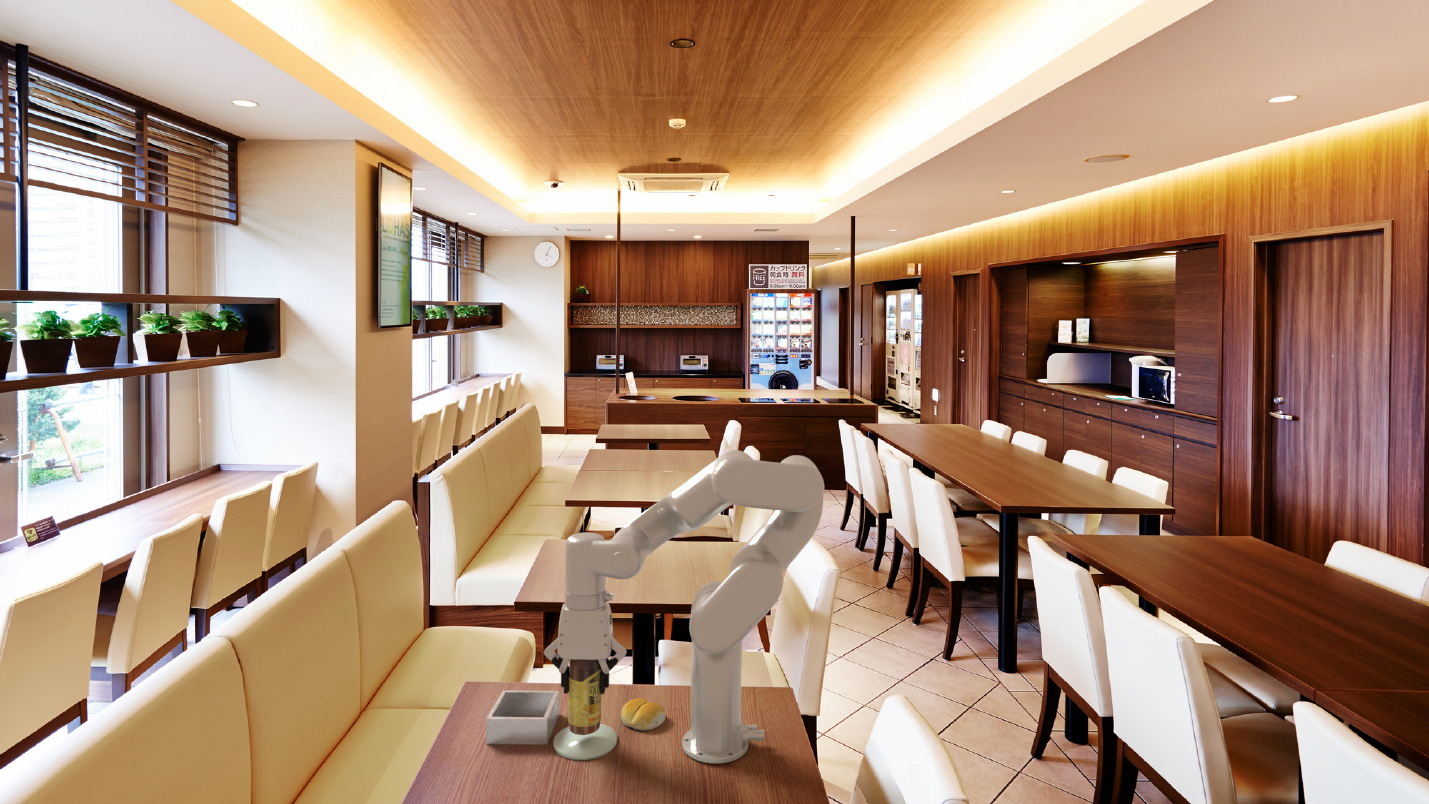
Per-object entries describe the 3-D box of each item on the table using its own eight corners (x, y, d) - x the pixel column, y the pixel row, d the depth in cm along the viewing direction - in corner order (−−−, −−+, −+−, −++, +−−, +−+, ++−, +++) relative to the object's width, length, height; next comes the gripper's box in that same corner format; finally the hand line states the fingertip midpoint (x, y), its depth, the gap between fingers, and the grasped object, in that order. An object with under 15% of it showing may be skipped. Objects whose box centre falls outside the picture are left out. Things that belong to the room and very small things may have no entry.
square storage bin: (559, 714, 153) (559, 690, 152) (547, 744, 141) (546, 719, 141) (502, 713, 152) (502, 690, 152) (486, 744, 141) (485, 718, 140)
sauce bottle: (594, 738, 138) (594, 635, 136) (562, 734, 139) (562, 632, 137) (606, 721, 144) (606, 622, 143) (576, 717, 145) (576, 619, 144)
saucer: (620, 726, 148) (620, 722, 148) (612, 760, 136) (612, 756, 136) (560, 726, 148) (560, 722, 148) (547, 759, 136) (547, 755, 136)
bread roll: (638, 706, 157) (638, 688, 156) (671, 719, 151) (671, 700, 151) (611, 722, 150) (611, 703, 150) (645, 736, 145) (645, 717, 144)
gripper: (633, 593, 143) (632, 682, 145) (544, 591, 143) (544, 681, 145) (629, 606, 136) (628, 700, 137) (535, 605, 136) (535, 699, 137)
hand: (585, 689), depth 141 cm, fingers closed on sauce bottle, 6 cm apart
